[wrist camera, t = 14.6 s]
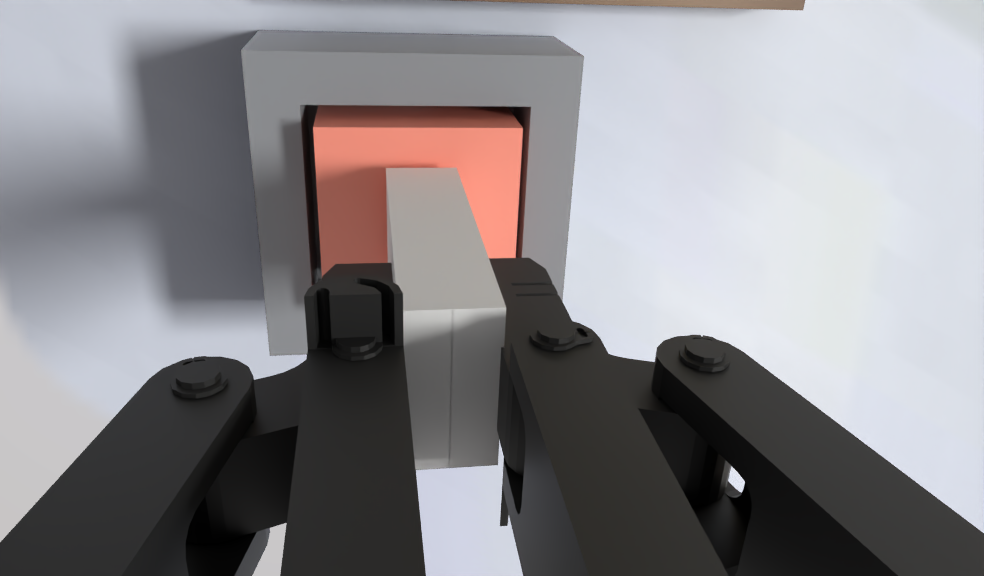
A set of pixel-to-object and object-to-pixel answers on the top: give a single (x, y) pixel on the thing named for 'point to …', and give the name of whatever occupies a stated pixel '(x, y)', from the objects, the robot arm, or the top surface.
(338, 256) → the button
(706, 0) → the board
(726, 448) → the robot arm
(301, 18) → the top surface
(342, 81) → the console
